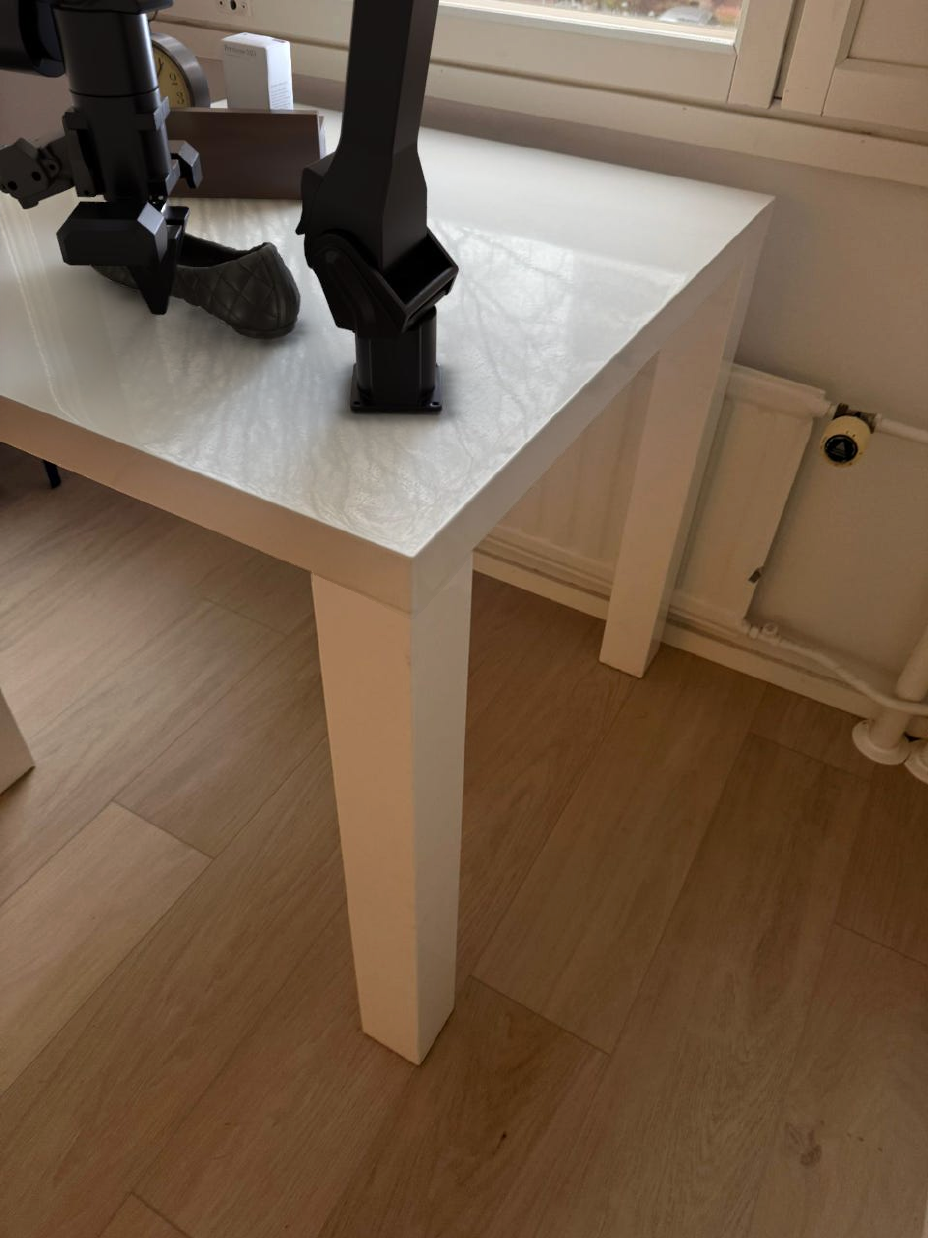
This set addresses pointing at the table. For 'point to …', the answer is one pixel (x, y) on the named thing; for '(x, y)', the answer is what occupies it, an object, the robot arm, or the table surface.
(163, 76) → the alarm clock
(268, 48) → the cosmetic box
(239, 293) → the ballet flat
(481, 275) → the table surface
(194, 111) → the brown wooden box
